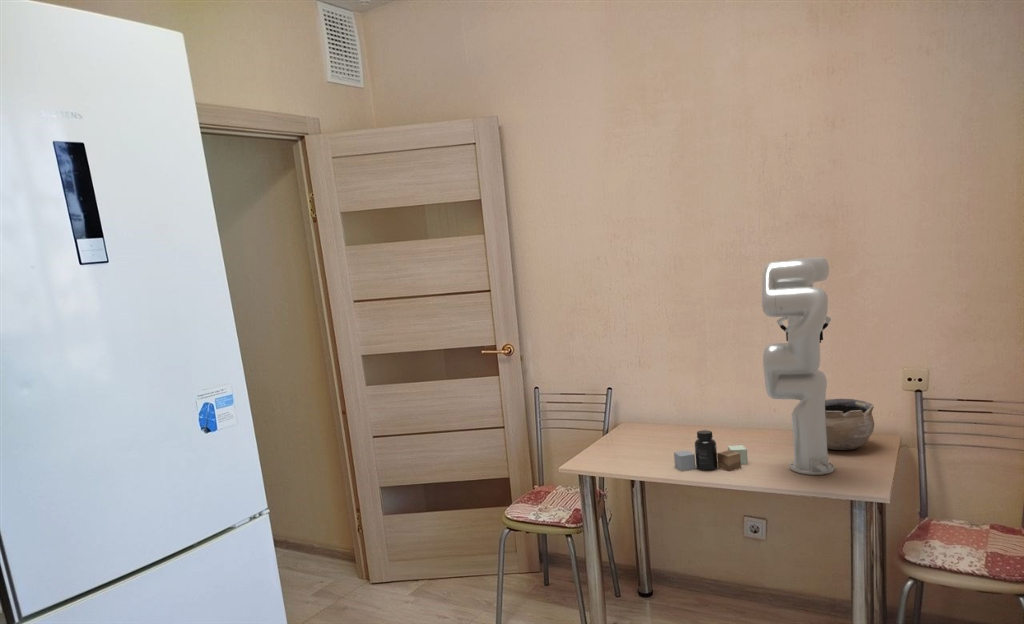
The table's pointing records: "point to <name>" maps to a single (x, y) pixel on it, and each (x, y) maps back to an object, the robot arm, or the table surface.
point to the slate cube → (684, 460)
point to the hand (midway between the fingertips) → (804, 342)
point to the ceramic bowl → (848, 423)
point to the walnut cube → (729, 460)
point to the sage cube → (741, 450)
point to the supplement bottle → (705, 451)
